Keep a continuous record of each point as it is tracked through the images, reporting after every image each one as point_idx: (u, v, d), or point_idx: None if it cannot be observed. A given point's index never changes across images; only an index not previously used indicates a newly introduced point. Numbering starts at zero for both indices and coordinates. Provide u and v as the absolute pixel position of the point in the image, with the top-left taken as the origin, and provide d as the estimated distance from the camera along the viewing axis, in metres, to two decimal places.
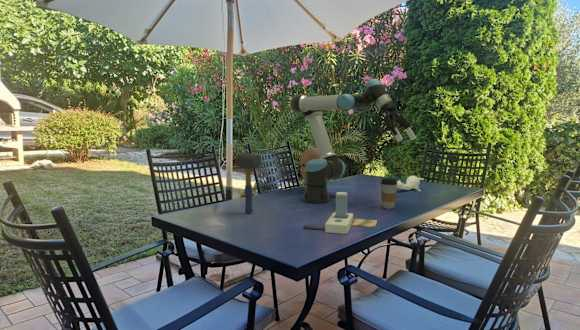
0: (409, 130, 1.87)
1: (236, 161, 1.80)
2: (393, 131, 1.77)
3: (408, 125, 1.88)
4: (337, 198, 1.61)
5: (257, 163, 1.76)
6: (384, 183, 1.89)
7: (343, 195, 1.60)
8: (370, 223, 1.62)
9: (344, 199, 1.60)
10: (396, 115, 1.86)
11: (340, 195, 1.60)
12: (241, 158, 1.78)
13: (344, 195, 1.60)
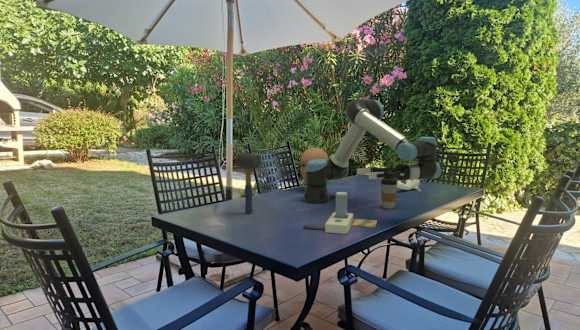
0: (367, 172, 1.70)
1: (236, 161, 1.80)
2: (382, 176, 1.56)
3: None
4: (337, 198, 1.61)
5: (257, 163, 1.76)
6: (384, 183, 1.89)
7: (343, 195, 1.60)
8: (370, 223, 1.62)
9: (344, 199, 1.60)
10: None
11: (340, 195, 1.60)
12: (241, 158, 1.78)
13: (344, 195, 1.60)
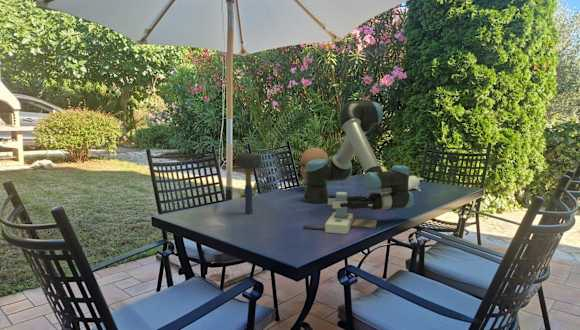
0: None
1: (236, 161, 1.80)
2: (345, 205, 1.58)
3: None
4: (337, 198, 1.61)
5: (257, 163, 1.76)
6: None
7: (343, 195, 1.60)
8: (370, 223, 1.62)
9: (344, 199, 1.60)
10: None
11: (340, 195, 1.60)
12: (241, 158, 1.78)
13: (344, 195, 1.60)
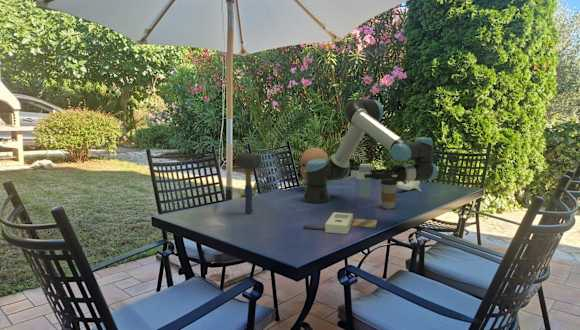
0: None
1: (236, 161, 1.80)
2: (369, 176, 1.56)
3: None
4: (361, 169, 1.59)
5: (257, 163, 1.76)
6: (384, 183, 1.89)
7: (367, 166, 1.58)
8: (370, 223, 1.62)
9: (368, 170, 1.58)
10: None
11: (364, 166, 1.58)
12: (241, 158, 1.78)
13: (368, 166, 1.58)
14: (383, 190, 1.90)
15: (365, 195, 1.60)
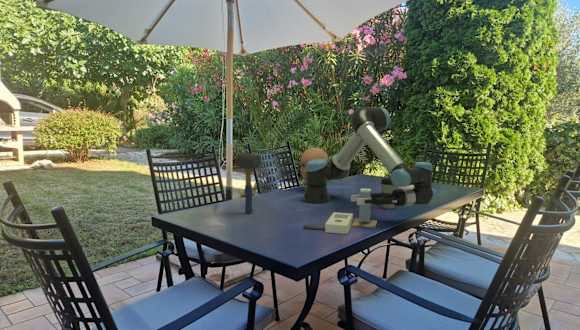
0: None
1: (236, 161, 1.80)
2: (369, 201, 1.58)
3: None
4: (361, 194, 1.60)
5: (257, 163, 1.76)
6: (384, 183, 1.89)
7: (367, 191, 1.59)
8: (370, 223, 1.62)
9: (368, 195, 1.59)
10: None
11: (364, 191, 1.60)
12: (241, 158, 1.78)
13: (368, 191, 1.59)
14: (383, 190, 1.90)
15: (365, 220, 1.61)
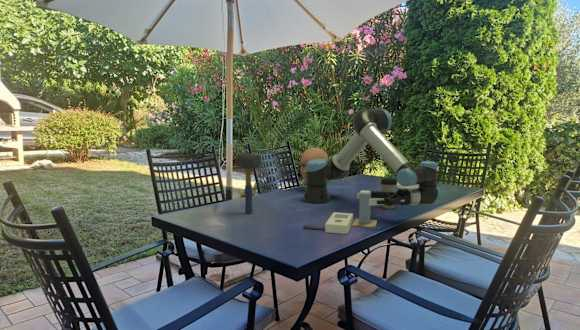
0: None
1: (236, 161, 1.80)
2: (382, 202, 1.55)
3: None
4: (361, 196, 1.60)
5: (257, 163, 1.76)
6: (384, 183, 1.89)
7: (367, 193, 1.60)
8: (370, 223, 1.62)
9: (368, 197, 1.60)
10: None
11: (364, 193, 1.60)
12: (241, 158, 1.78)
13: (368, 193, 1.59)
14: (383, 190, 1.90)
15: (365, 222, 1.61)
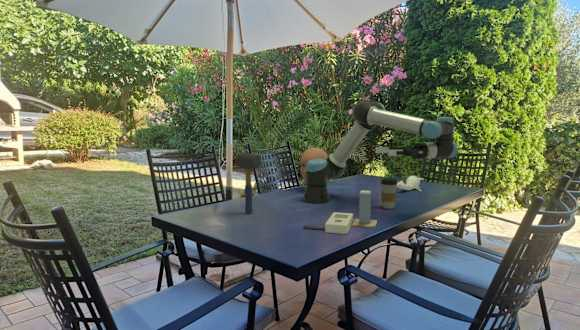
0: (385, 151, 1.75)
1: (236, 161, 1.80)
2: (401, 153, 1.61)
3: None
4: (361, 196, 1.60)
5: (257, 163, 1.76)
6: (384, 183, 1.89)
7: (367, 193, 1.60)
8: (370, 223, 1.62)
9: (368, 197, 1.60)
10: None
11: (364, 193, 1.60)
12: (241, 158, 1.78)
13: (368, 193, 1.59)
14: (383, 190, 1.90)
15: (365, 222, 1.61)
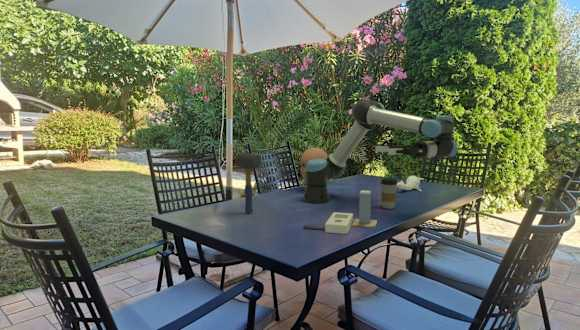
0: (385, 150, 1.75)
1: (236, 161, 1.80)
2: (401, 151, 1.61)
3: None
4: (361, 196, 1.60)
5: (257, 163, 1.76)
6: (384, 183, 1.89)
7: (367, 193, 1.60)
8: (370, 223, 1.62)
9: (368, 197, 1.60)
10: None
11: (364, 193, 1.60)
12: (241, 158, 1.78)
13: (368, 193, 1.59)
14: (383, 190, 1.90)
15: (365, 222, 1.61)
